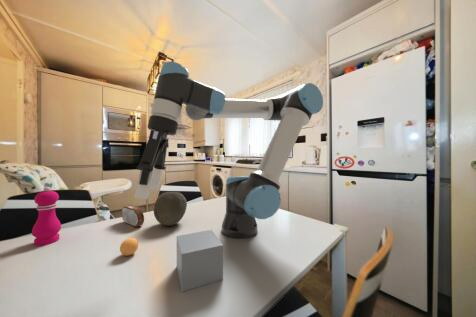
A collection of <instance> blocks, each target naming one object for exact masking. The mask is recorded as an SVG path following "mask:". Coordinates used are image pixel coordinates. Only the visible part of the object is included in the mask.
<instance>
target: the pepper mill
mask: <svg viewBox="0 0 476 317" xmlns="http://www.w3.org/2000/svg"><path fill="white" fill-rule="evenodd" d="M59 199H60V196H59V194H58V192H56V191H53V190H51V187H50V186H45V187H43V191H41V192H38V193H37V194H36V195H35V196H34V203H35V204H36V211H37V212H38V216H37V219H36V222H35V224H34V225H33V227H32V229H31V234H32V236H33V237H34V240H33V245H34V246H37V247H38V246H40V247H41V246H47V245H49V244H53V243H55V242H58V241H59V240H60V231H61V230H62V223H61V221H60V220H59V218H58V217H57V215H56V214H57V213H56V208H57V207H58V206H57V205H58V203H57V202H58V200H59Z"/></svg>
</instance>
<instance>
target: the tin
mask: <svg viewBox="0 0 476 317" xmlns="http://www.w3.org/2000/svg"><path fill="white" fill-rule="evenodd" d="M121 218H122V221H123V222H124V223H125V224H126V225H129V226H131V227H134V228H137V227H140V226H142V225H144V222H145V217H144V211H143V210H142V209H141V207H139V206H135V205H133V204H128V205H125V206H124V205H123V207H121Z"/></svg>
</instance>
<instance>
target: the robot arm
mask: <svg viewBox="0 0 476 317" xmlns="http://www.w3.org/2000/svg"><path fill="white" fill-rule="evenodd" d="M156 83H157V85H156V88H155V94H154V97H153V98H154V99H153V102H152V103H150V105H149V106H150V107H151V111H150V113H151V115H150V116H149V119H148V122H147V128H148V130H149V131H150V133H149V136H148V139H147V142H146V145H145V148H144V150H143V153H142V156H141V158H140V161H139V163H138V165H136V171H137V170H139V175H138V180H137V183H136V189H135V193H134V199H141V200H147V199H148V198H149V193H150V191H151V190H152V191H156V192H157V191H158V190H159V188H160V182H161V178H162V175H163V171H165V170H166V169H167V168H166V165H165V163H166V157H167V150H168V144H169V138H167V137H168V135H169V136H176V134H177V131H178V126H179V124H178V122H179V121H180V117H181V113H182V109H183V105H185V114H186V116H187V118H189V119H191V120H193V121H199V120H202V119H262V120H264V121H279V124H277V127H276V129H275V132H274V134H273V136H272V138H271V140H270V142H269V144H268V146H267V148H266V151H265V153H264V155H263V157H262V158H261V161H260V163H259V165H258V167H257V169H256V170H255V171H252V172H250V174H249V175H246V176H245V175H244V176H243V175H242V176H229V177H227V178H226V181H225V214H224V216H223V220H222V223H221V232H222V234H224V235H225V236H227V237H228V238H229V237H230V238H235V239H236V238H237V239H246V238H250V237H253V236H255V235H256V234H257V232H258V223H257V220H267V219H269V218H272V217H273V216H275V214H276V213H277V212H278V211H279V209H280V207H281V204H282V199H281V192H280V189H281V184H280V181H279V180H280V178H281V175H282V174H283V171H284V169H285V166H286V165H287V162H288V161H289V157H290V156H291V153H292V151H293V149H294V147H295V144H296V143H297V139H298V138H299V135H300V133H301V131H302V129H303V127H305V126H307V125H308V124H309V123H310V121H311V118H312V116H313V115H315V114H316V115H317V114H318V113H319V112H321V110H322V109H323V106H324V98H323V94H322V91H321V90H320V88H319V87H318V86H317V85H315V84H314V83H311V82H307V83H304V84H300V85H299V86H297V87H296V88H294V89H291V90H290V91H287V92H286V93H283V94H281V95H278V96H276V97H275V96H274V97H266V98H264V99H261V100H260V99H240V98H239V99H238V98H236V99H235V98H226V94H225V92H224V91H222V90H220V89H218V88H216V87H214V86H210V85H208V84H206V83H205V84H204V83H203V82H199V81H197V80H194V79H192V78H191V77H190V71H189V70H188V69H187V68H186V67H185V66H183V65H182V64H181V63H178V62H176V61H165V62H164V63H163V64H162V66H161V69H160V72H159V75H158V80H157V82H156ZM256 219H257V220H256Z"/></svg>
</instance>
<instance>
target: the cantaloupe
mask: <svg viewBox="0 0 476 317" xmlns="http://www.w3.org/2000/svg"><path fill="white" fill-rule="evenodd" d="M187 207H188V203H187V199H186V197H185V196H184V194H182V193H181V192H179V191H164V192H162V193H161V194H160V195H159V196H158V197H157V199H156V200H155V203H154V206H153V215H154V217H155V218H154V219H155V220H156V221H157V222H158V223H159V224H160V225H162V226H167V227H172V226H175V225H176V224H178V223H180V221H181V220H182V219H183V217H184V216H185V213H186V210H187Z"/></svg>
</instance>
